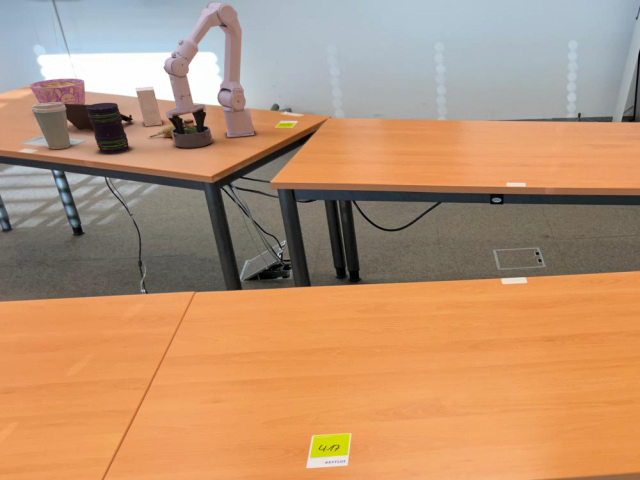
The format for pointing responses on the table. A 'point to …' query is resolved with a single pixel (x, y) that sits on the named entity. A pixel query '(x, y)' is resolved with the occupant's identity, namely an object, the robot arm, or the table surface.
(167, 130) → the decorative bird model
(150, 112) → the small box
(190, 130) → the peg doll
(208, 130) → the bowl
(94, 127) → the dark striped cylinder
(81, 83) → the bowl of food
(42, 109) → the disposable coffee cup
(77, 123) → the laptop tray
